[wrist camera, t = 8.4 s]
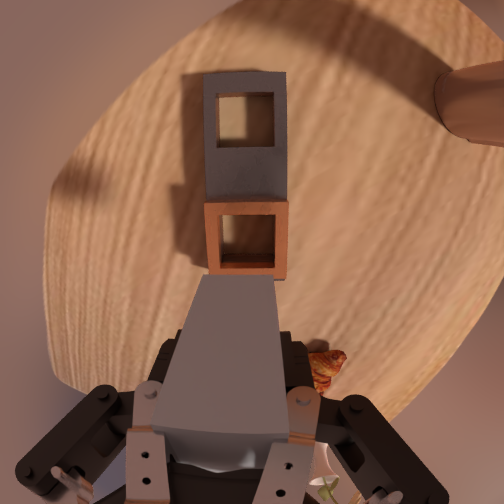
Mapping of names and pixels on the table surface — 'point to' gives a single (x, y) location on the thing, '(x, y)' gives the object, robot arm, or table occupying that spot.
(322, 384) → the croissant
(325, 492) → the flower in vase
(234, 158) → the socket
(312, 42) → the table surface
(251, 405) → the peg
